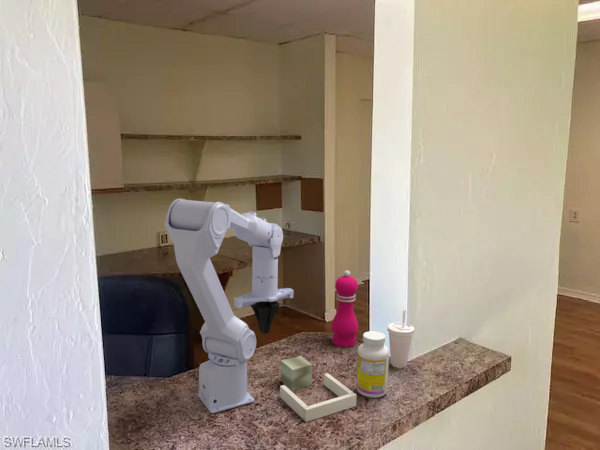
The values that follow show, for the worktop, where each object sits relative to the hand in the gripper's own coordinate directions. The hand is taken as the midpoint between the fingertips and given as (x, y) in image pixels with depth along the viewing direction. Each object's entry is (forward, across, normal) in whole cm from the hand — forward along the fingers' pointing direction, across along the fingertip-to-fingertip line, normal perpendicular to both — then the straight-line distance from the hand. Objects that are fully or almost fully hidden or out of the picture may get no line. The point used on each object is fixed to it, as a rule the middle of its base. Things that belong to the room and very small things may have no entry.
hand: (264, 331), depth 113 cm
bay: (+9, +2, -18) cm, 20 cm away
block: (+10, +3, -9) cm, 14 cm away
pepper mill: (+10, +26, +2) cm, 28 cm away
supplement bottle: (+10, +15, -21) cm, 27 cm away
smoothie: (+10, +29, -15) cm, 34 cm away
